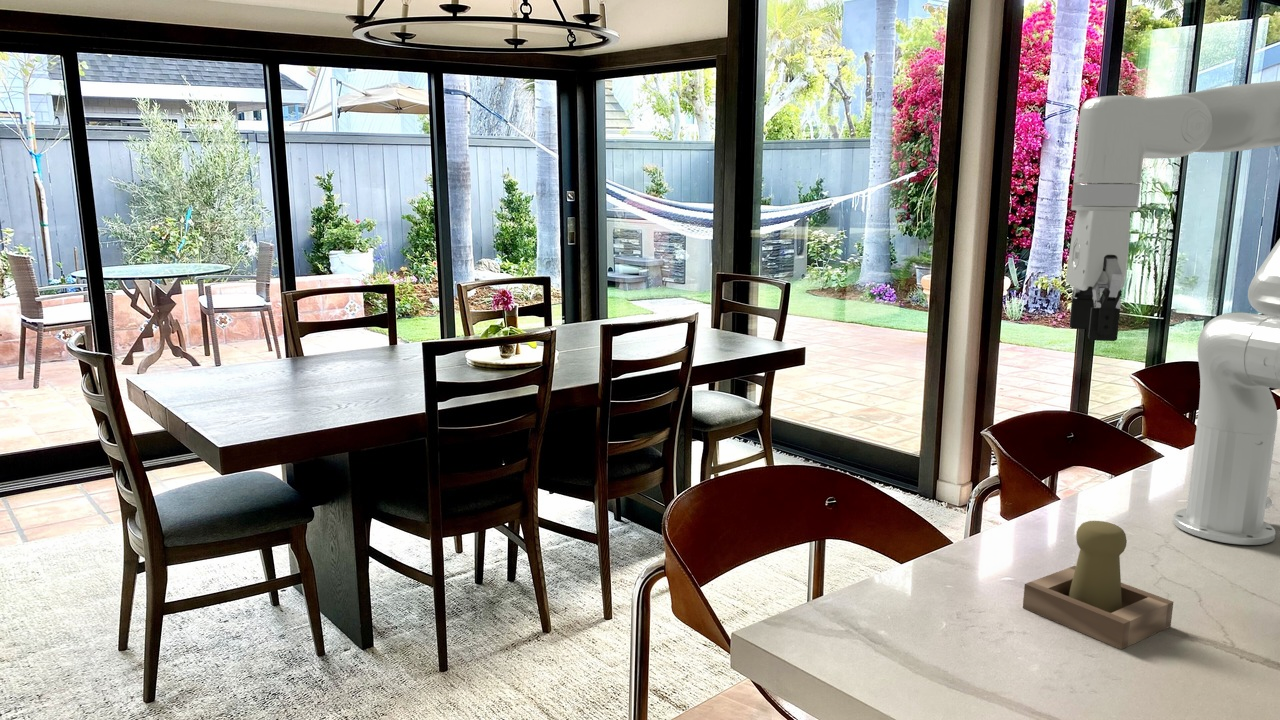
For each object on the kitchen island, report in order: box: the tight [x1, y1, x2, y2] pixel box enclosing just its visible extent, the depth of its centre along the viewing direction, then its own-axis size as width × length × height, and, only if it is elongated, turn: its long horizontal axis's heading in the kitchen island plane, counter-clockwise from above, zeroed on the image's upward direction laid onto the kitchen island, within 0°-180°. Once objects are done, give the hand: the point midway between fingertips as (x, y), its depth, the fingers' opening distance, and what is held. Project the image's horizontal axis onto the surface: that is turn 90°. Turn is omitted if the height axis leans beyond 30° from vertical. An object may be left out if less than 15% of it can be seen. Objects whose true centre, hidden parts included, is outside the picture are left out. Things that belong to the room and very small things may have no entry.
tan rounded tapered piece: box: [1069, 520, 1128, 613], centre depth 108 cm, size 6×6×11 cm
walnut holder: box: [1022, 565, 1174, 650], centre depth 108 cm, size 10×12×3 cm
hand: (1092, 334), depth 120 cm, fingers open, 9 cm apart
